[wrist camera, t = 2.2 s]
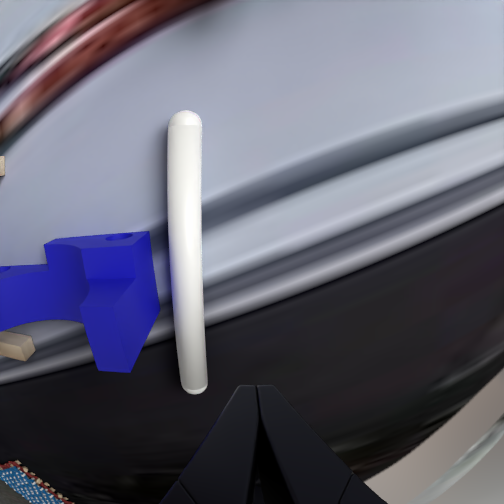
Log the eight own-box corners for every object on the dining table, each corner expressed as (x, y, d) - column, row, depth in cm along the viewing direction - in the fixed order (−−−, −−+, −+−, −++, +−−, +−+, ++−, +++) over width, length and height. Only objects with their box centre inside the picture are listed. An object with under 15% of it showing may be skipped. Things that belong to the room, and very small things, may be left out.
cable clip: (149, 230, 16) (105, 267, 10) (161, 308, 17) (130, 372, 11) (-7, 244, 16) (-66, 273, 10) (9, 306, 17) (-42, 347, 11)
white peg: (209, 383, 18) (207, 400, 17) (184, 382, 18) (180, 398, 17) (204, 112, 14) (200, 107, 13) (172, 113, 14) (165, 108, 13)
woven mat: (17, 454, 23) (11, 465, 21) (82, 503, 25) (78, 515, 23) (-6, 462, 24) (-11, 471, 22) (49, 505, 26) (46, 515, 24)
